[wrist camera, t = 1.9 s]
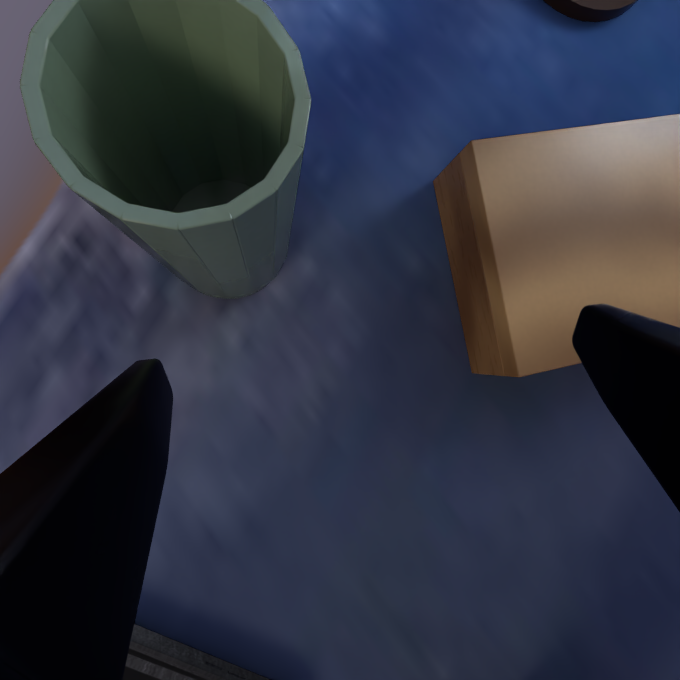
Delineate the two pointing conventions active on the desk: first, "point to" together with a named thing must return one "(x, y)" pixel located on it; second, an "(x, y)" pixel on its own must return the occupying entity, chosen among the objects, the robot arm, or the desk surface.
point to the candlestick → (591, 8)
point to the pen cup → (176, 128)
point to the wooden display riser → (560, 236)
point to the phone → (175, 661)
